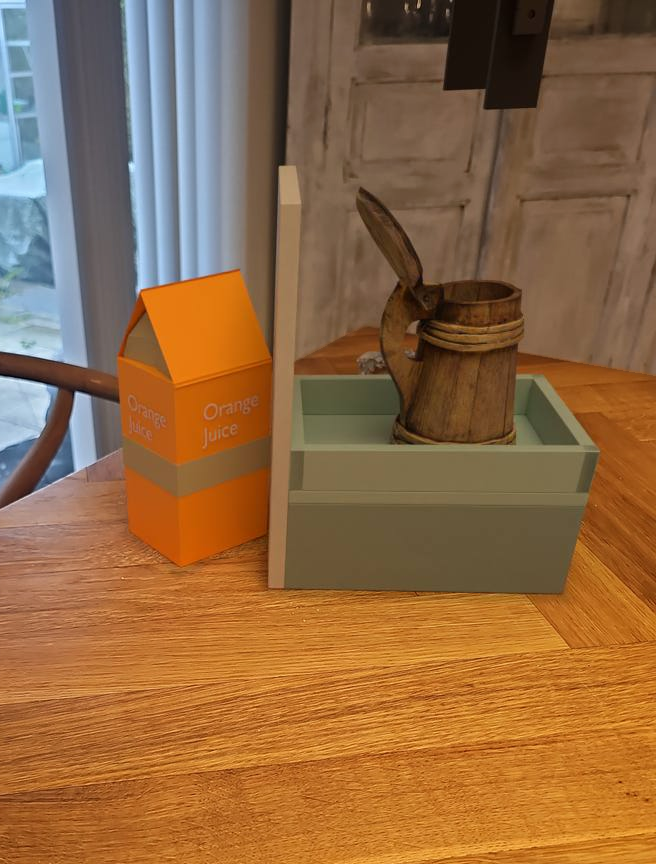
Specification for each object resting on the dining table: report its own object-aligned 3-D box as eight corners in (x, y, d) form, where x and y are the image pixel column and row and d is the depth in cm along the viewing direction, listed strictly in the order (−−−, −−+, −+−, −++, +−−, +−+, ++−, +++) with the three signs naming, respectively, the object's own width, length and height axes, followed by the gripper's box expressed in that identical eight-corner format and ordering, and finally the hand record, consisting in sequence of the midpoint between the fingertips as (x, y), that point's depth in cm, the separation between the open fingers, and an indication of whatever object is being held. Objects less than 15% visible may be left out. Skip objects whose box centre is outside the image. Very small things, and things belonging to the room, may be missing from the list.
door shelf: (516, 500, 75) (588, 158, 60) (563, 594, 63) (668, 195, 48) (268, 497, 77) (278, 165, 62) (268, 588, 65) (280, 203, 50)
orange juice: (268, 534, 72) (276, 277, 60) (180, 568, 68) (171, 301, 56) (211, 500, 77) (209, 259, 66) (127, 530, 73) (108, 279, 62)
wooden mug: (317, 435, 68) (333, 176, 58) (480, 418, 70) (525, 163, 59) (356, 484, 61) (383, 197, 50) (537, 463, 63) (599, 182, 52)
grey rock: (366, 404, 95) (369, 366, 93) (352, 380, 101) (355, 344, 99) (464, 398, 95) (469, 361, 93) (444, 375, 101) (449, 339, 99)
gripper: (434, -338, 52) (397, 86, 64) (542, -558, 32) (458, 122, 44) (565, -350, 51) (502, 81, 63) (762, -582, 31) (613, 115, 43)
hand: (484, 98), depth 54 cm, fingers open, 13 cm apart
